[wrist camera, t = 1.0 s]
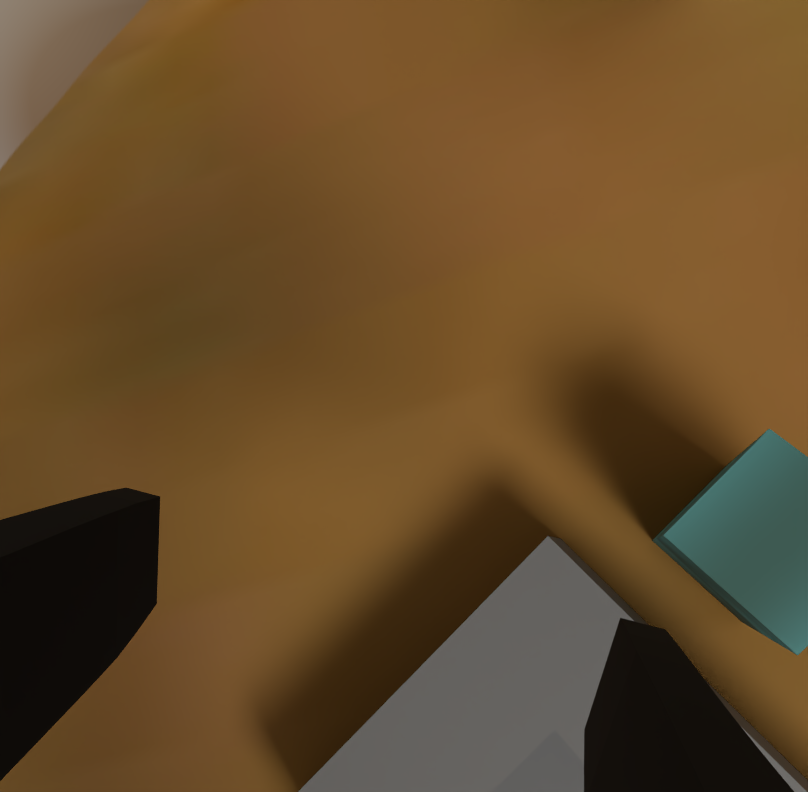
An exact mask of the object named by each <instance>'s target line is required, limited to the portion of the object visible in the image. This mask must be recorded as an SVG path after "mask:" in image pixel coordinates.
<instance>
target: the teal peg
mask: <svg viewBox="0 0 808 792" xmlns="http://www.w3.org/2000/svg"><path fill="white" fill-rule="evenodd" d="M652 541H653V542H654V543H656V544H657V545H658V546H659V547H660V548H661V549H662V550H663V551H664V552H666V553H667V554H668V555H669V556H670V557H671V558H672V559H673V560H674V561H675V562H677V563H678V564H679V565H680V566H681V567H682V568H683V569H684V570H685V571H686V572H688V573H689V574H690V575H691V576H692V577H693V578H694V579H695V580H696V581H697V582H699V583H700V584H701V585H702V586H703V587H704V588H705V589H706V590H707V591H709V592H710V593H711V594H712V595H713V596H714V597H715V598H716V599H717V600H718V601H720V602H721V603H722V604H723V605H724V606H725V607H726V608H727V609H728V610H729V611H731V612H732V613H733V614H734V615H735V616H736V617H737V618H738V619H739V620H740V621H742V622H743V623H745V624H746V625H748V626H750V627H751V628H753V629H755V630H756V631H758V632H760V633H761V634H763V635H765V636H766V637H768V638H770V639H771V640H773V641H775V642H776V643H778V644H780V645H781V646H783V647H785V648H786V649H788V650H790V651H791V652H793V653H795V654H796V655H799V654H800V653H801V652H802V651H803V650H804V649H805V648H806V647H807V646H808V457H807V456H805V455H804V454H803V453H801V452H800V451H799V450H797V449H796V448H795V447H793V446H792V445H791V444H789V443H788V442H787V441H785V440H784V439H783V438H781V437H780V436H778V435H777V434H776V433H774V432H773V431H772V430H770V429H768V430H767V431H766V432H765V433H764V434H763V435H761V436H760V437H759V438H758V439H757V440H756V441H754V442H753V443H752V444H751V445H750V446H749V447H747V448H746V449H745V450H744V451H743V452H742V453H741V454H739V455H738V456H737V457H736V458H735V459H734V460H732V461H731V462H730V463H729V464H728V465H727V466H726V467H725V468H724V469H723V470H722V471H721V472H720V473H719V474H718V475H717V476H716V477H715V478H714V479H713V480H712V481H711V482H710V483H709V484H708V485H707V486H706V487H705V488H704V489H703V490H702V491H701V492H700V493H699V494H698V495H697V496H696V497H695V498H694V499H693V500H692V501H691V502H690V503H689V504H688V505H687V506H686V507H685V508H684V509H683V510H682V511H681V512H680V513H679V514H678V515H677V516H676V517H675V518H674V519H673V520H672V521H671V522H670V523H669V524H668V525H667V526H666V527H665V528H664V529H663V530H662V531H661V532H660V533H659V534H658V535H657V536H656V537H655V538H654V539H653V540H652Z"/></svg>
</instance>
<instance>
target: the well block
mask: <svg viewBox="0 0 808 792" xmlns="http://www.w3.org/2000/svg"><path fill="white" fill-rule="evenodd" d="M620 618H623V619H627V620H631V621H635V622H639V623H642V624H646V625H648V624H647V623H646V622H645V621H644V620H643V619H642V618H641V617H640V616H639V615H638V614H637V613H636V612H635V611H634V610H633V609H632V608H631V607H630V606H629V605H628V604H627V603H626V602H625V601H624V600H623V599H622V598H621V597H620V596H619V595H618V594H617V593H616V592H615V591H614V590H613V589H612V588H611V587H610V586H609V585H607V584H606V583H605V582H604V581H603V580H602V579H601V578H600V577H599V576H598V575H597V574H596V573H595V572H594V571H593V570H592V569H591V568H590V567H589V566H588V565H587V564H586V563H585V562H584V561H583V560H582V559H581V558H580V557H579V556H578V555H577V554H576V553H575V552H574V551H573V550H572V549H571V548H570V547H569V546H568V545H567V544H566V543H565V542H564V541H563V540H562V539H560V538H555V537H551V536H547V537H546V538H545V540H544V541H543V542H542V543H541V544H540V545H539V546H538V547H537V548H536V549H535V550H534V551H533V552H532V553H531V554H530V555H529V556H528V557H527V558H526V559H525V560H524V561H523V562H522V563H521V564H520V565H519V566H518V567H517V568H516V569H515V570H514V571H513V572H512V573H511V574H510V575H509V576H508V577H507V578H506V579H505V580H504V581H503V583H502V584H501V585H500V586H499V587H498V588H497V589H496V590H495V591H494V592H493V593H492V594H491V595H490V596H489V597H488V598H487V599H486V600H485V601H484V602H483V603H482V604H481V605H480V606H479V607H478V608H477V609H476V610H475V611H474V612H473V613H472V614H471V615H470V616H469V617H468V618H467V619H466V620H465V621H464V622H463V623H462V624H461V626H460V627H459V628H458V629H457V630H456V631H455V632H454V633H453V634H452V635H451V636H450V637H449V638H448V639H447V640H446V641H445V642H444V643H443V644H442V645H441V646H440V647H439V648H438V649H437V650H436V651H435V652H434V653H433V654H432V655H431V656H430V657H429V658H428V659H427V660H426V661H425V662H424V663H423V664H422V665H421V666H420V667H419V669H418V670H417V671H416V672H415V673H414V674H413V675H412V676H411V677H410V678H409V679H408V680H407V681H406V682H405V683H404V684H403V685H402V686H401V687H400V688H399V689H398V690H397V691H396V692H395V693H394V694H393V695H392V696H391V697H390V698H389V699H388V700H387V701H386V702H385V703H384V704H383V705H382V706H381V707H380V708H379V709H378V710H377V712H376V713H375V714H374V715H373V716H372V717H371V718H370V719H369V720H368V721H367V722H366V723H365V724H364V725H363V726H362V727H361V728H360V729H359V730H358V731H357V732H356V733H355V734H354V735H353V736H352V737H351V738H350V739H349V740H348V741H347V742H346V743H345V744H344V745H343V746H342V747H341V748H340V749H339V750H338V751H337V752H336V753H335V755H334V756H333V757H332V758H331V759H330V760H329V761H328V762H327V763H326V764H325V765H324V766H323V767H322V768H321V769H320V770H319V771H318V772H317V773H316V774H315V775H314V776H313V777H312V778H311V779H310V780H309V781H308V782H307V783H306V784H305V785H304V786H303V787H302V788H301V789H300V790H299V791H298V792H584V729H585V726H586V723H587V720H588V717H589V714H590V710H591V707H592V704H593V701H594V698H595V695H596V692H597V689H598V685H599V682H600V679H601V676H602V673H603V670H604V667H605V664H606V661H607V657H608V654H609V651H610V648H611V645H612V642H613V639H614V636H615V632H616V629H617V626H618V623H619V620H620ZM704 680H705V679H704ZM705 681H706V680H705ZM706 682H707V681H706ZM707 684H708V685H709V686H710V687H711V689H712V690H713V691H714V693H715V694H716V695H717V696H718V698H719V699H720V700H721V702H722V703H723V704H724V706H725V707H726V708H727V709H728V711H729V712H730V713H731V715H732V716H733V717H734V718H735V720H736V721H737V722H738V723H739V725H740V726H741V727H742V729H743V730H744V731H745V732H746V734H747V735H748V736H749V737H750V739H751V740H752V741H753V742H754V744H755V745H756V746H757V747H758V749H759V750H760V751H761V752H762V753H763V755H764V756H765V757H766V758H767V760H768V761H769V762H770V763H771V764H772V766H773V767H774V768H775V769H776V770H777V772H778V773H779V774H780V775H781V776H782V778H783V779H784V780H785V781H786V782H787V784H788V785H789V786H790V787H791V788H792V790H793V791H794V792H808V780H807V779H806V778H805V777H804V776H803V775H802V774H801V773H799V772H798V771H797V770H796V769H795V768H794V767H793V766H792V765H791V764H790V763H789V762H788V761H787V760H786V759H785V758H784V757H783V756H782V755H781V754H780V753H779V752H778V751H777V750H776V749H775V748H774V747H773V746H772V745H771V744H770V743H769V742H768V741H767V740H766V739H765V738H764V737H763V736H762V735H761V734H760V733H759V732H758V731H757V730H756V729H755V728H754V727H753V726H751V725H750V724H749V723H748V722H747V721H746V720H745V719H744V718H743V717H742V716H741V715H740V714H739V713H738V712H737V711H736V710H735V709H734V708H733V707H732V706H731V705H730V704H729V703H728V702H727V701H726V700H725V699H724V698H723V697H722V696H721V695H720V694H719V693H718V692H717V691H716V690H715V689H714V688H713V687H712V686H711V685H710V684H709V683H708V682H707Z"/></svg>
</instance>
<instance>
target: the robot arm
mask: <svg viewBox="0 0 808 792" xmlns="http://www.w3.org/2000/svg"><path fill="white" fill-rule="evenodd" d="M159 513H160V497H159V496H156V495H152V494H148V493H144V492H140V491H136V490H133V489H129V488H122V489H117V490H111V491H107V492H102V493H98V494H94V495H90V496H86V497H82V498H78V499H74V500H71V501H67V502H63V503H60V504H56V505H52V506H49V507H45V508H42V509H38V510H34V511H31V512H27V513H24V514H20V515H16V516H13V517H9V518H6V519H2V520H0V781H1V780H2V779H3V778H4V776H5V775H6V774H7V773H8V772H9V771H10V770H11V769H12V768H13V767H14V766H15V765H16V764H17V763H18V762H19V761H20V760H21V759H22V758H23V757H24V756H25V755H26V753H27V752H28V751H29V750H30V749H31V748H32V747H33V746H34V745H35V744H36V743H37V742H38V741H39V740H40V739H41V738H42V737H43V736H44V735H45V734H46V733H47V732H48V730H49V729H50V728H51V727H52V726H53V725H54V724H55V723H56V722H57V721H58V720H59V719H60V718H61V717H62V716H63V715H64V714H65V713H66V712H67V711H68V710H69V709H70V707H71V706H72V705H73V704H74V703H75V702H76V701H77V700H78V699H79V698H80V697H81V696H82V695H83V694H84V693H85V692H86V691H87V689H88V688H89V687H90V686H91V685H92V684H93V683H94V682H95V681H96V680H97V679H98V678H99V677H100V676H101V675H102V674H103V672H104V671H105V670H106V669H107V668H108V667H109V666H110V665H111V664H112V663H113V662H114V660H115V659H116V658H117V657H118V656H119V654H120V653H121V652H122V650H123V649H124V648H125V647H126V645H127V644H128V643H129V641H130V640H131V639H132V637H133V636H134V635H135V633H136V632H137V631H138V629H139V628H140V626H141V625H142V624H143V622H144V621H145V619H146V618H147V617H148V615H149V614H150V612H151V611H152V610H153V608H154V607H155V605H156V604H157V576H158V544H159ZM584 792H794V791H793V790H792V788H791V787H790V786H789V785H788V784H787V782H786V781H785V780H784V779H783V778H782V776H781V775H780V774H779V773H778V772H777V770H776V769H775V768H774V767H773V766H772V764H771V763H770V762H769V761H768V760H767V758H766V757H765V756H764V755H763V753H762V752H761V751H760V750H759V749H758V747H757V746H756V745H755V744H754V742H753V741H752V740H751V739H750V737H749V736H748V735H747V734H746V732H745V731H744V730H743V729H742V727H741V726H740V725H739V723H738V722H737V721H736V720H735V718H734V717H733V716H732V715H731V713H730V712H729V711H728V709H727V708H726V707H725V706H724V704H723V703H722V702H721V700H720V699H719V698H718V696H717V695H716V694H715V693H714V691H713V690H712V689H711V687H710V686H709V685H708V684H707V682H706V681H705V680H704V678H703V677H702V676H701V674H700V673H699V672H698V670H697V669H696V668H695V667H694V665H693V664H692V663H691V661H690V660H689V659H688V657H687V656H686V655H685V654H684V652H683V651H682V650H681V648H680V647H679V646H678V645H677V643H676V642H675V641H674V640H673V638H672V637H671V636H670V635H669V634H668V632H667V631H666V630H665V629H661V628H658V627H654V626H650V625H646V624H642V623H639V622H635V621H631V620H627V619H623V618H620V620H619V623H618V626H617V629H616V632H615V636H614V639H613V642H612V645H611V648H610V651H609V654H608V657H607V661H606V664H605V667H604V670H603V673H602V676H601V679H600V682H599V685H598V689H597V692H596V695H595V698H594V701H593V704H592V707H591V710H590V714H589V717H588V720H587V723H586V726H585V729H584Z"/></svg>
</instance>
